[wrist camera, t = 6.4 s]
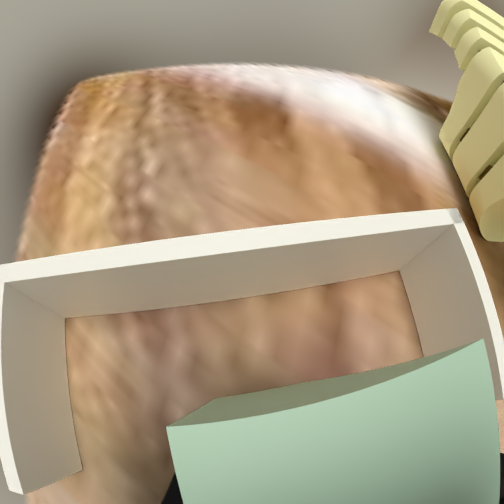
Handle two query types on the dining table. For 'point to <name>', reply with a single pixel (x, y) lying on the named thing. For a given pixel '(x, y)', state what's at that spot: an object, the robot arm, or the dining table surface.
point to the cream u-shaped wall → (213, 290)
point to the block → (350, 438)
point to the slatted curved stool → (476, 108)
